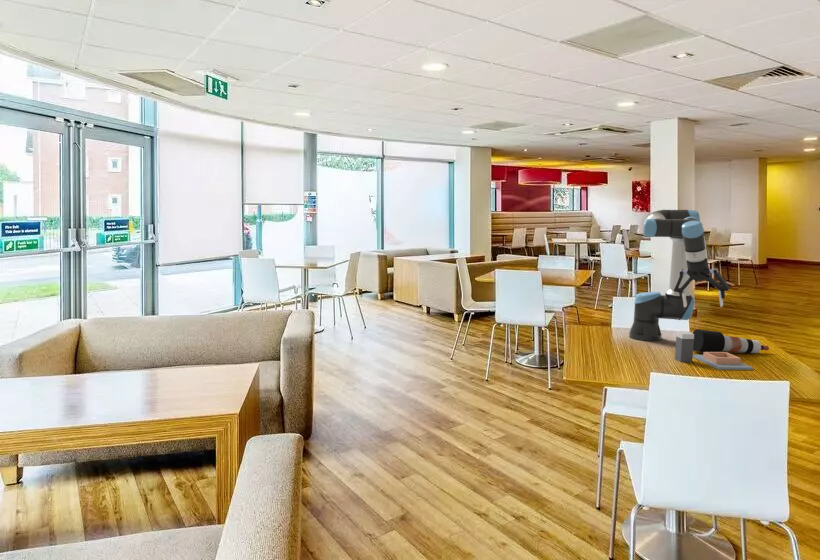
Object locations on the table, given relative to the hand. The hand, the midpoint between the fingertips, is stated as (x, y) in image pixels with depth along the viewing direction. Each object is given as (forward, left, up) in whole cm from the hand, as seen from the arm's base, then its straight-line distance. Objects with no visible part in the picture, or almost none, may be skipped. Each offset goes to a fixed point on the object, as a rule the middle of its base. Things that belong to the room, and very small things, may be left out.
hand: (703, 305), depth 230 cm
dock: (+1, +9, -24) cm, 26 cm away
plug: (-3, -5, -24) cm, 25 cm away
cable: (-17, +24, -25) cm, 39 cm away
